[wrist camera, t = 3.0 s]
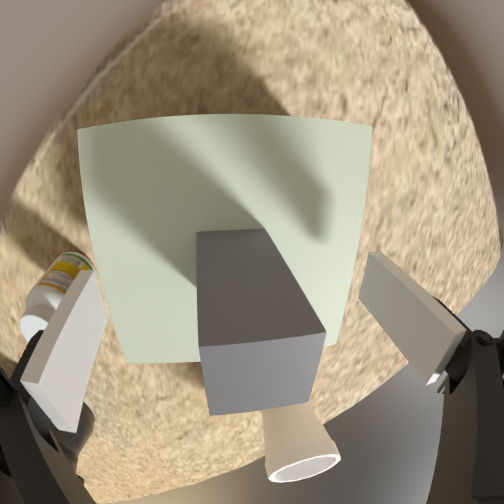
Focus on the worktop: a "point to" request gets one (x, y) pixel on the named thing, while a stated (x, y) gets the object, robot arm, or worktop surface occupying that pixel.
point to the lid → (227, 244)
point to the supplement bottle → (51, 291)
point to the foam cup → (296, 443)
